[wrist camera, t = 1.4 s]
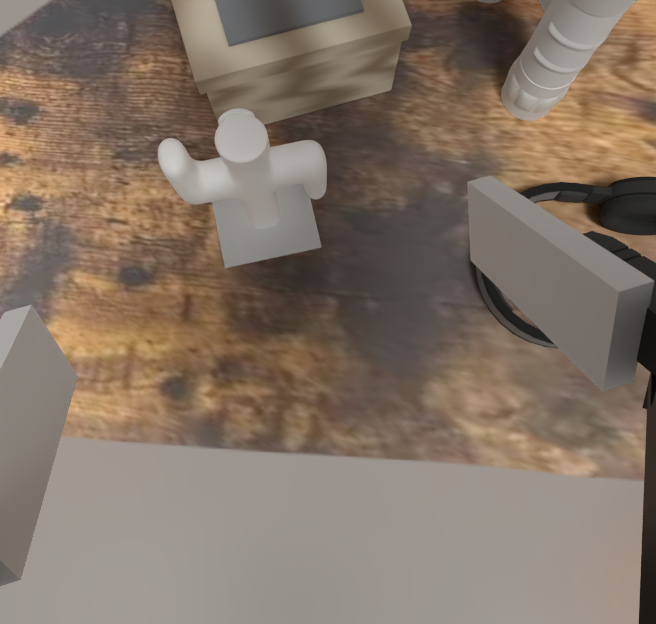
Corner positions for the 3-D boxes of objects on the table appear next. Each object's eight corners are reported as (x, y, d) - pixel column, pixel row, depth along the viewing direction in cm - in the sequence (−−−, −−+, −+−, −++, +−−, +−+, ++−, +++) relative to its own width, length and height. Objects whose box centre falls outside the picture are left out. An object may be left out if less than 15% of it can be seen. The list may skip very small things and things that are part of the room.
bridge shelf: (348, -45, 46) (353, -134, 39) (396, 88, 44) (412, 22, 36) (176, -2, 45) (146, -85, 38) (216, 137, 43) (193, 79, 35)
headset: (829, 338, 31) (499, 334, 33) (728, 354, 40) (474, 350, 42) (799, 139, 33) (492, 147, 35) (709, 197, 42) (470, 200, 44)
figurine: (335, 258, 41) (342, 176, 27) (219, 283, 41) (162, 214, 26) (315, 176, 43) (312, 54, 28) (203, 199, 42) (139, 88, 27)
